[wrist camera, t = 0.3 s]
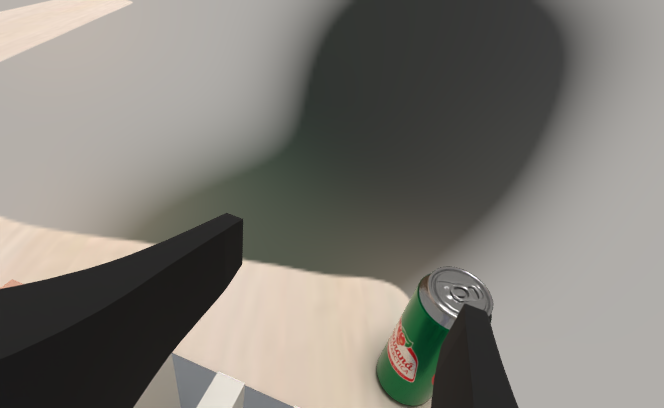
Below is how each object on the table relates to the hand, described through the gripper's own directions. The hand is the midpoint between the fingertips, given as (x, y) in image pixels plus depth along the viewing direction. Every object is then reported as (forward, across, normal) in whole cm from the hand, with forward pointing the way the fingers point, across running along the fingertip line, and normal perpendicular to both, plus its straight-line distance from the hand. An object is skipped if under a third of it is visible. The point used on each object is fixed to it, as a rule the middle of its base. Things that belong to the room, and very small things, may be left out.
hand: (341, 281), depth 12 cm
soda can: (+12, -5, +21) cm, 24 cm away
